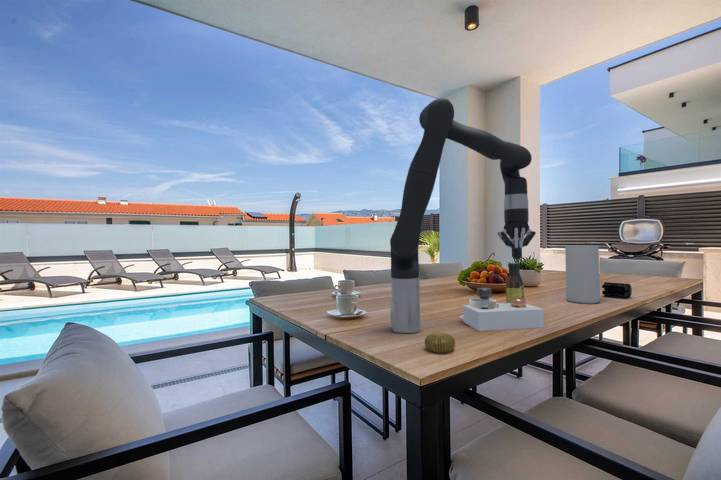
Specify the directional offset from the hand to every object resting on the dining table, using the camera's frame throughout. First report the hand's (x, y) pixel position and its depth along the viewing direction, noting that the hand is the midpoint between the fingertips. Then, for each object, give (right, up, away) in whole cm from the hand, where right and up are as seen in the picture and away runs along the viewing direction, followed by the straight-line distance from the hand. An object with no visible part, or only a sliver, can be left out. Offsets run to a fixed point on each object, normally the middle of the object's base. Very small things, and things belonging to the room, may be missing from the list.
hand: (517, 259), depth 116 cm
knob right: (+1, -22, 0) cm, 22 cm away
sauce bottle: (+5, -22, +12) cm, 26 cm away
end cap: (+67, -21, +44) cm, 83 cm away
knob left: (-11, -18, -1) cm, 22 cm away
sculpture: (-32, -23, -25) cm, 47 cm away
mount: (-5, -22, -1) cm, 23 cm away
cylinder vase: (+46, -21, +36) cm, 62 cm away
